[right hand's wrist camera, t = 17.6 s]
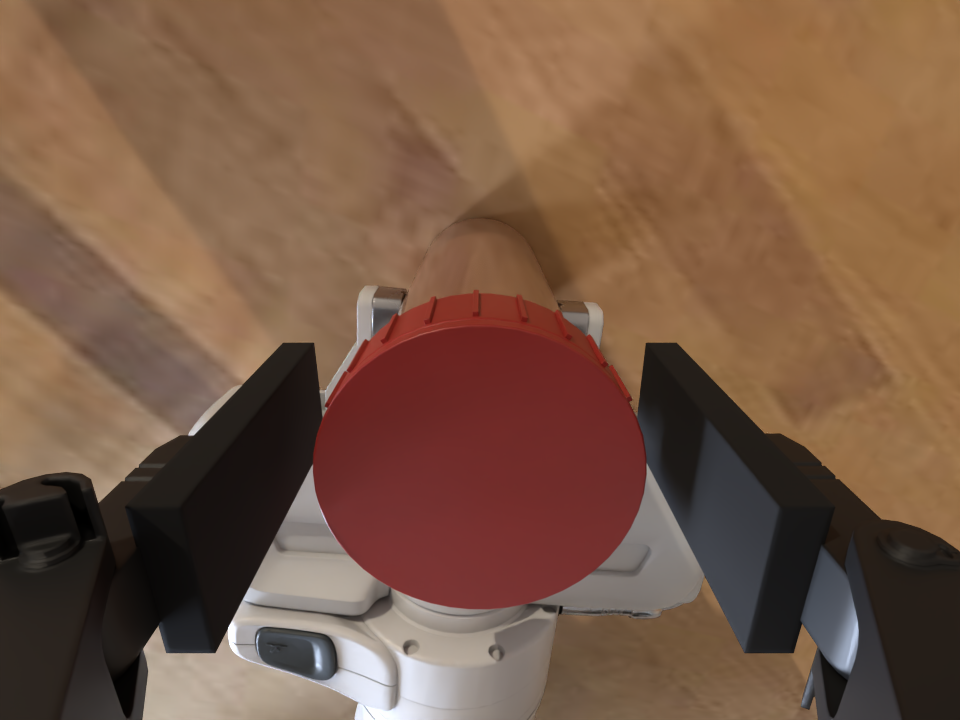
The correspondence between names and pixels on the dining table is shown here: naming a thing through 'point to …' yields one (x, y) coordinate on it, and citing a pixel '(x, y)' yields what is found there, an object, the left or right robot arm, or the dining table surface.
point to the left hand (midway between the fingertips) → (480, 297)
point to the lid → (479, 454)
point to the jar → (479, 266)
